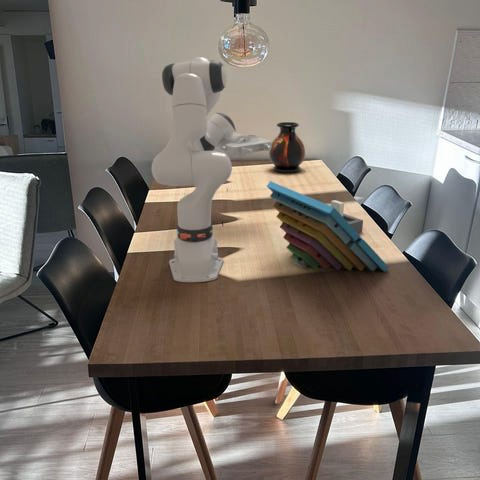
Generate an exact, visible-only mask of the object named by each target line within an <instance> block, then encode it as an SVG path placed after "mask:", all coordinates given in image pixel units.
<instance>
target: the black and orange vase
mask: <svg viewBox="0 0 480 480" xmlns="http://www.w3.org/2000/svg"><path fill="white" fill-rule="evenodd" d="M299 126H300V124H299V123H297V122H291V121H290V122H289V121H288V122H287V121H284V122H278V123H277V124H276V127H278V128H279V133H278V135H277V136H276V137H275V138H274V139H273V141H271V143H272V148H271V151H268V153H269V154H268V157H269V160H270V162H271V163H272V164H273V165H274V166H273V167H272V169H273V171H274V172H276V173H279V174H295V173H298V172H300V171H301V166H300V165H302V163H303V162H304V161H305V158H306V150H305V149H306V148H305V145H304V143H303V141H302V140H301V138H300V137H299V136H298V135H297V133H296V128H297V127H299Z"/></svg>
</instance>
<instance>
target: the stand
mask: <svg viewBox="0 0 480 480" xmlns="http://www.w3.org/2000/svg"><path fill="white" fill-rule="evenodd" d="M343 218H344V219H345V220H346V221H347V222H348V223H349V224H350V225H351V226H352V227H353V229H354V230H355V231H356V232H357V233H358V234H360V233H362V232H363V226H364V220H363V219H360V218H358V217H354V216H352V215H349V214H347V213H343Z"/></svg>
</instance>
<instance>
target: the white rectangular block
mask: <svg viewBox="0 0 480 480" xmlns="http://www.w3.org/2000/svg"><path fill="white" fill-rule="evenodd" d="M344 205H345V203H344V202H342V201H339V200H336V199H333V200H331V201H330V206H332V207H334V208H335V209H336V210H337V211H338V212H339V213H340V214H341V215H342V217H343V214H344Z"/></svg>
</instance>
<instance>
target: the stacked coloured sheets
mask: <svg viewBox="0 0 480 480" xmlns="http://www.w3.org/2000/svg"><path fill="white" fill-rule="evenodd" d="M266 187H267V188H268V190H270V191H271V192H272V193H270V195H269V198H271V199H272V200H273V201H274V202H275V203H274V205H273V206H272V207H273V208H274V209H275V210H276V211H277V212H278V213H277V214H276V216H275V217H276V218H277V219H278V220H279V221H280V222H282V223H281V224H280V225H279V228H280V229H281V230H282V231H284V232H285V234H284V235H283V237H282V238H283V239H284V240H285V241H286V242H288V245H287V246H286V249H287V250H288V251H289V252H290V253H291V254H292V255H290V257H289V259H290V260H291V261H292V262H294V264H296V266H298V267H300V268H301V269H303V270H305V269H307V268H306V267H308V266H309V267H310V268H312V269H314V270H315V271H316V270H317V269H318V267H321V268H322V269H325V270H327V271H328V270H329V268H330V267H332V268H333V269H335V270H336V271H340V270H341V268H344V269H346V270H347V271H352V269H353V268H354V269H356V270H359V271H360V272H362V271H363V270H364V269H367V270H369V271H371V272H372V273H373V272H375V270H376V269H377V270H379V271H381V272H383V273H386V272H387V271H388V269H389V268H390V266H389V265H388V264H386V262H385V261H384V259H382V258H381V257H380V256H379V254H377V252H376V251H375V250H374V249H373V248H372V247H371V246H370V245H369V244H368V243H367V241H366V240H365V239H364V238H362V237H361V235H360V233H357V232H356V231H355V230H354V229H353V227H352V226H351V225H350V224H349V223H348V222H347V221H346V220H345V219H344V218H343V217H342V215H341V214H340V213H339V212H338V211H337V210H336V209H335V208H334V207H332V206H331V205H329V204H326V203H324V202H322V201H319V200H317V199H315V198H312V197H310V196H308V195H305V194H303V193H300V192H298V191H296V190H293V189H291V188H288V187H286V186H283V185H281V184H279V183H277V182H276V183H275V182H273V181H269V182H268V184H267V185H266Z"/></svg>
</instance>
